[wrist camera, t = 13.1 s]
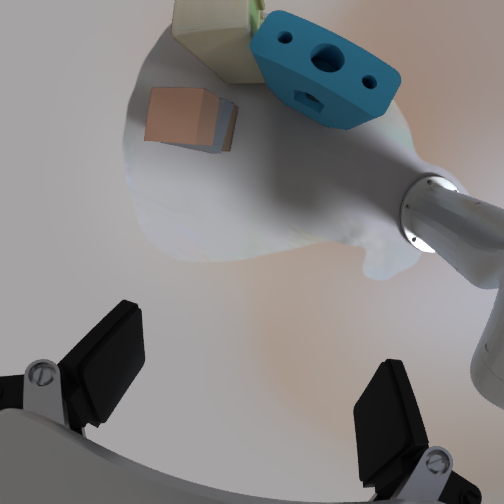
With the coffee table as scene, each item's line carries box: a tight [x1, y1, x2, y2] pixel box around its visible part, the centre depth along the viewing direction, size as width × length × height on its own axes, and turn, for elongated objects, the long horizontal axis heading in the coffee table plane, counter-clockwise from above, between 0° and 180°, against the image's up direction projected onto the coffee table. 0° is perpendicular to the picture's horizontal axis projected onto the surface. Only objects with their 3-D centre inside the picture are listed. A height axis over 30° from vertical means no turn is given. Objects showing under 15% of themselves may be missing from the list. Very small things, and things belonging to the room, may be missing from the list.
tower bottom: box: [221, 102, 239, 151], centre depth 37 cm, size 7×7×4 cm
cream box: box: [171, 0, 266, 84], centre depth 25 cm, size 8×7×21 cm
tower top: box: [161, 98, 234, 153], centre depth 33 cm, size 7×7×4 cm
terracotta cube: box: [144, 87, 220, 146], centre depth 28 cm, size 6×6×6 cm
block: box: [249, 10, 401, 130], centre depth 26 cm, size 12×5×20 cm, turn 62°
